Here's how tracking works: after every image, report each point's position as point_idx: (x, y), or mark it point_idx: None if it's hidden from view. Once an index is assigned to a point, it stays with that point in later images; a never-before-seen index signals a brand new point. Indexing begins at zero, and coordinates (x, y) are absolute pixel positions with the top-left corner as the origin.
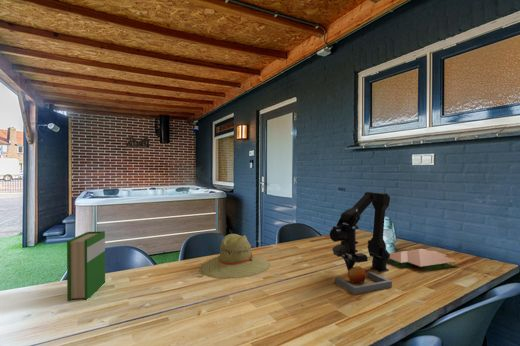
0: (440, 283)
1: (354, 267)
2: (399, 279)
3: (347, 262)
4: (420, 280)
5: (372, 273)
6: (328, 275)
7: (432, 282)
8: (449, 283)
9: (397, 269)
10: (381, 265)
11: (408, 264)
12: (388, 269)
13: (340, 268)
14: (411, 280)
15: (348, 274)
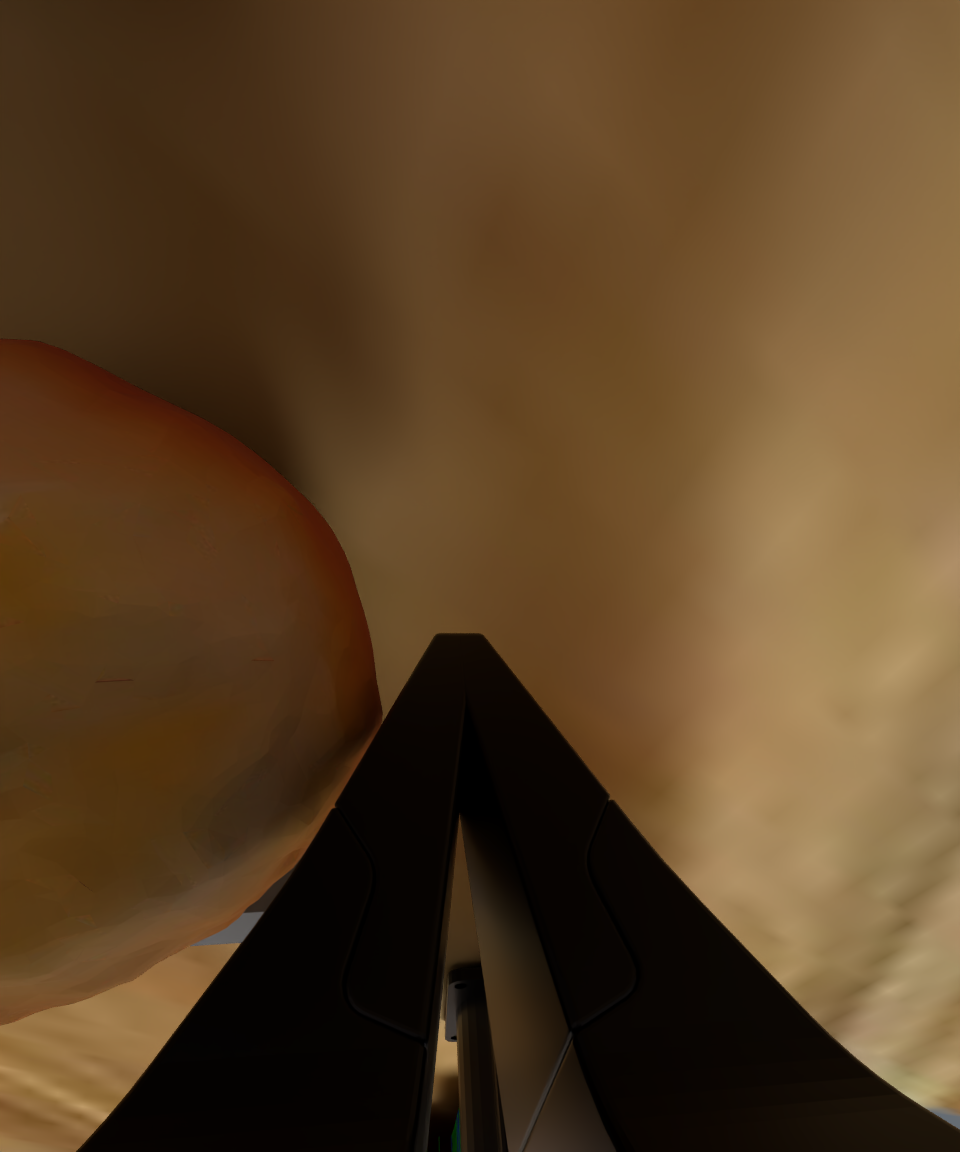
0: (17, 1121)
1: (12, 861)
2: (169, 999)
3: (520, 939)
4: (110, 1077)
5: (236, 926)
6: (919, 105)
7: (47, 1103)
8: (16, 1143)
9: (438, 1064)
10: (466, 1080)
11: (458, 1138)
12: (446, 1039)
13: (906, 696)
14: (120, 1044)
15: (97, 415)
